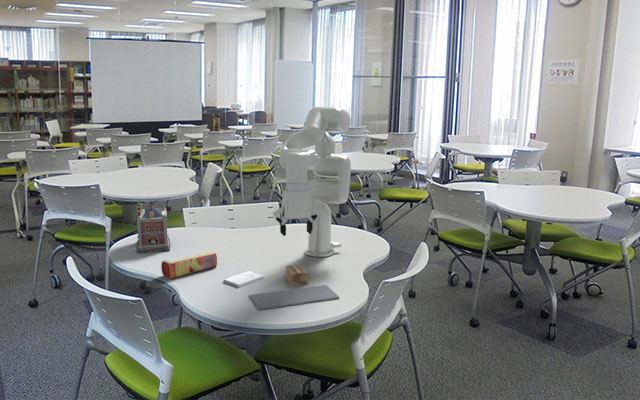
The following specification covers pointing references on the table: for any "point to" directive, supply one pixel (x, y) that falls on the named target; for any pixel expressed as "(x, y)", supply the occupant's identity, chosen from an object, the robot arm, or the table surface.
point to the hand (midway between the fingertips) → (296, 233)
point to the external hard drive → (243, 279)
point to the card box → (296, 275)
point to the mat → (293, 297)
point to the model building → (152, 230)
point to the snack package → (188, 264)
